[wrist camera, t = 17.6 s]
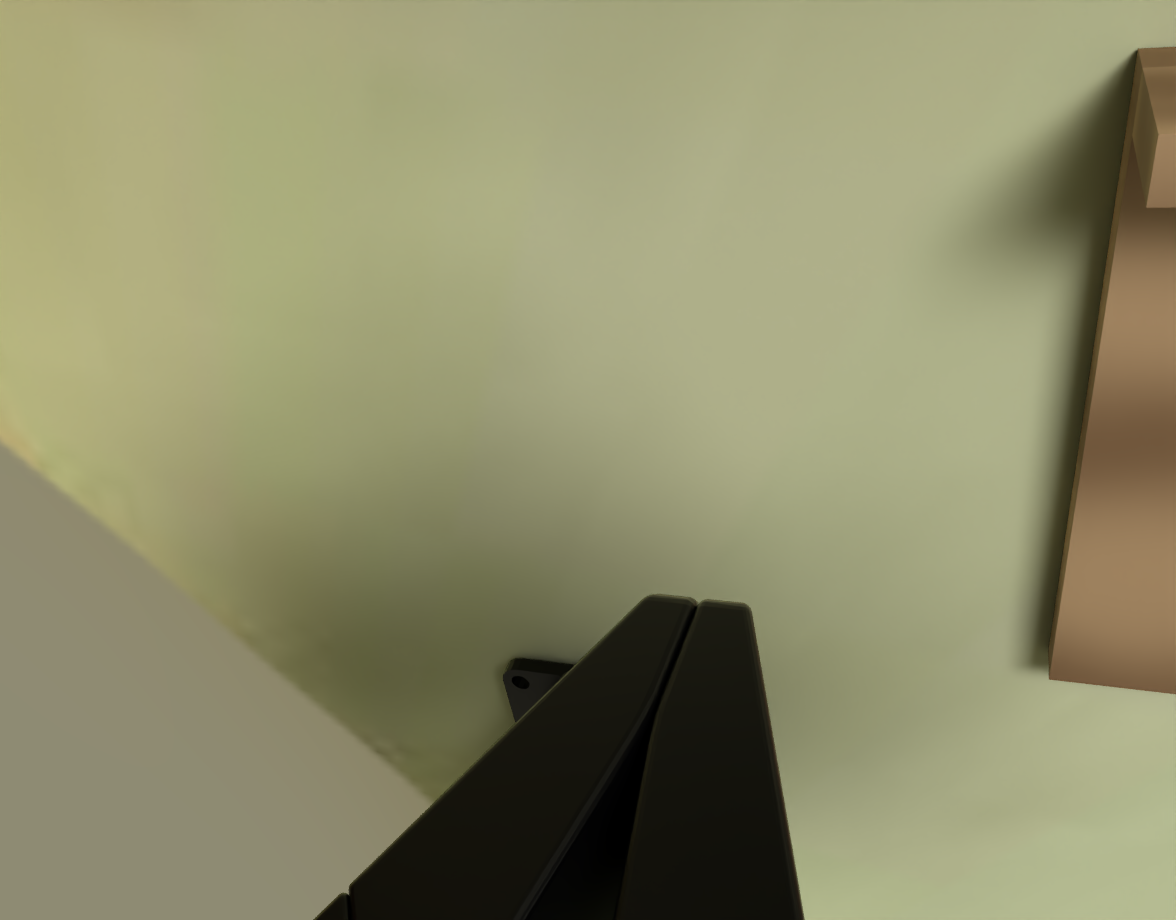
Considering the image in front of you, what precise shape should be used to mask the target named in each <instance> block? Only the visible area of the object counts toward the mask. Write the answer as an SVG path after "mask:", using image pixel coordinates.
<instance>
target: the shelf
mask: <svg viewBox="0 0 1176 920" xmlns="http://www.w3.org/2000/svg"><path fill="white" fill-rule="evenodd" d="M1048 661H1049V679H1050V680H1059V681H1067V682H1076V683H1085V684H1093V685H1102V686H1110V687H1119V688H1128V689H1136V690H1145V691H1153V692H1162V693H1170V694H1176V47H1163V48H1143V49H1138V52H1137V59H1136V66H1135V72H1134V79H1133V86H1132V92H1131V99H1130V106H1129V113H1128V119H1127V126H1126V133H1125V139H1124V146H1123V153H1122V160H1121V166H1120V173H1119V180H1118V186H1117V193H1116V200H1115V207H1114V213H1113V220H1112V227H1111V233H1110V240H1109V247H1108V254H1107V260H1106V267H1105V274H1104V280H1103V287H1102V294H1101V301H1100V307H1099V314H1098V321H1097V327H1096V334H1095V341H1094V348H1093V354H1092V361H1091V368H1090V374H1089V381H1088V388H1087V395H1086V401H1085V408H1084V415H1083V421H1082V428H1081V435H1080V442H1079V448H1078V455H1077V462H1076V468H1075V475H1074V482H1073V489H1072V495H1071V502H1070V509H1069V515H1068V522H1067V529H1066V536H1065V542H1064V549H1063V556H1062V562H1061V569H1060V576H1059V583H1058V589H1057V596H1056V603H1055V609H1054V616H1053V623H1052V630H1051V636H1050V643H1049V650H1048Z"/></svg>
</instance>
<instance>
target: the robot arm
mask: <svg viewBox="0 0 1176 920" xmlns="http://www.w3.org/2000/svg"><path fill="white" fill-rule="evenodd" d="M503 681H504V684H505V688H506V691H507V695H508V698H509V702H510V705H511V709H512V712H513V715H514V719H515V722H516V723H515V724H514V725H513V726H512V727H511V728H510V729H509V730H508V731H507V732H506V733H505V734H504V735H503V736H502V737H501V738H500V739H499V740H498V741H497V742H496V743H495V744H494V745H493V746H492V747H491V748H489V749H488V750H487V751H486V752H485V753H484V754H483V755H482V756H481V757H480V758H479V759H478V760H477V761H476V762H475V763H474V764H473V765H472V766H471V767H470V768H469V769H468V770H467V771H466V772H465V773H464V774H463V775H462V776H461V777H460V778H459V779H458V780H457V781H456V782H455V783H454V784H453V785H452V786H451V787H450V788H448V789H447V790H446V791H445V792H444V793H443V794H442V795H441V796H440V797H439V798H438V799H437V800H436V801H435V802H434V803H433V804H432V805H431V806H430V807H429V808H428V809H427V810H426V811H425V812H424V813H423V814H422V815H421V816H420V817H419V818H418V819H417V820H416V821H415V822H414V823H413V824H412V825H411V826H410V827H409V828H408V829H407V830H405V832H403V833H402V834H401V835H400V836H399V837H398V838H397V839H396V840H395V841H394V842H393V843H392V844H391V845H390V846H389V847H388V848H387V849H386V850H385V851H384V852H383V853H382V854H381V855H380V856H379V857H378V858H377V859H376V860H375V861H374V862H373V863H372V864H371V865H370V866H369V867H368V868H367V869H365V870H364V871H363V872H362V874H360V875H359V876H358V877H357V878H356V879H355V880H354V881H353V882H352V883H351V884H350V886H349V895H348V894H346V893H341V894H339V895H338V897H336V898H335V899H334V900H333V901H332V902H331V903H330V904H329V905H328V906H327V907H326V908H325V909H324V910H323V911H322V912H321V913H320V914H319V915H318V916H317V917H316V918H315V919H314V920H805V919H804V913H803V907H802V902H801V896H800V890H799V884H798V878H797V872H796V867H795V861H794V855H793V849H792V843H791V837H790V832H789V826H788V820H787V814H786V808H785V802H784V797H783V791H782V785H781V779H780V773H779V767H778V762H777V756H776V750H775V744H774V738H773V732H772V727H771V721H770V715H769V709H768V703H767V697H766V692H765V686H764V680H763V674H762V668H761V662H760V657H759V651H758V645H757V639H756V633H755V627H754V622H753V616H752V611H751V608H750V607H749V606H748V605H747V604H745V603H739V602H730V601H720V600H710V599H706V600H703V601H702V602H700V603H699V604H698V602H697V601H696V600H695V599H693V598H691V597H682V596H672V595H662V594H651V595H649V596H647V597H645V598H644V599H642V600H641V601H640V602H639V603H638V604H637V605H636V606H635V607H634V608H633V609H632V610H631V611H630V612H629V613H628V614H627V615H626V616H625V617H624V618H623V619H622V620H621V621H620V622H619V623H618V624H617V625H616V626H615V627H614V628H612V629H611V630H610V631H609V632H608V633H607V634H606V635H605V636H604V637H603V638H602V639H601V640H600V641H599V642H598V643H597V644H596V645H595V646H594V647H593V648H592V649H591V650H590V651H589V652H588V653H587V654H586V655H585V656H584V657H583V658H582V659H581V660H580V661H579V662H578V663H577V664H576V665H568V664H561V663H553V662H545V661H538V660H530V659H514V660H511V661H510V663H509V664H508V666H507V668H506V670H505V673H504V675H503Z"/></svg>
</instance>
